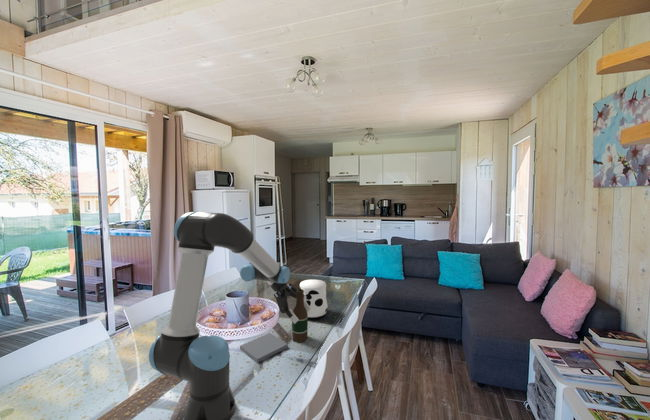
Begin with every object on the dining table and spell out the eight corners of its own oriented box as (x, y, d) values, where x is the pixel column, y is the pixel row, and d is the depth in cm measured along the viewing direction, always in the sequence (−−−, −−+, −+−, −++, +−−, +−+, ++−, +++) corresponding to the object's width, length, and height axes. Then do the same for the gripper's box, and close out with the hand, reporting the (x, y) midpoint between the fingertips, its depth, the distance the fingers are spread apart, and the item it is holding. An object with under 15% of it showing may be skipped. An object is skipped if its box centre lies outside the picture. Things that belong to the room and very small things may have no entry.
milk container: (328, 308, 169) (329, 279, 168) (325, 321, 152) (326, 289, 151) (300, 306, 171) (300, 278, 170) (294, 319, 154) (295, 288, 153)
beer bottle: (305, 343, 130) (305, 293, 128) (289, 341, 132) (289, 292, 130) (309, 335, 138) (310, 288, 136) (294, 333, 139) (294, 286, 138)
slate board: (257, 362, 115) (257, 359, 115) (239, 349, 125) (239, 345, 125) (287, 347, 127) (287, 344, 127) (269, 336, 137) (269, 332, 136)
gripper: (284, 278, 151) (309, 309, 146) (256, 294, 127) (285, 332, 123) (292, 269, 148) (318, 301, 144) (266, 284, 125) (296, 322, 121)
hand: (303, 315), depth 134 cm, fingers open, 13 cm apart
